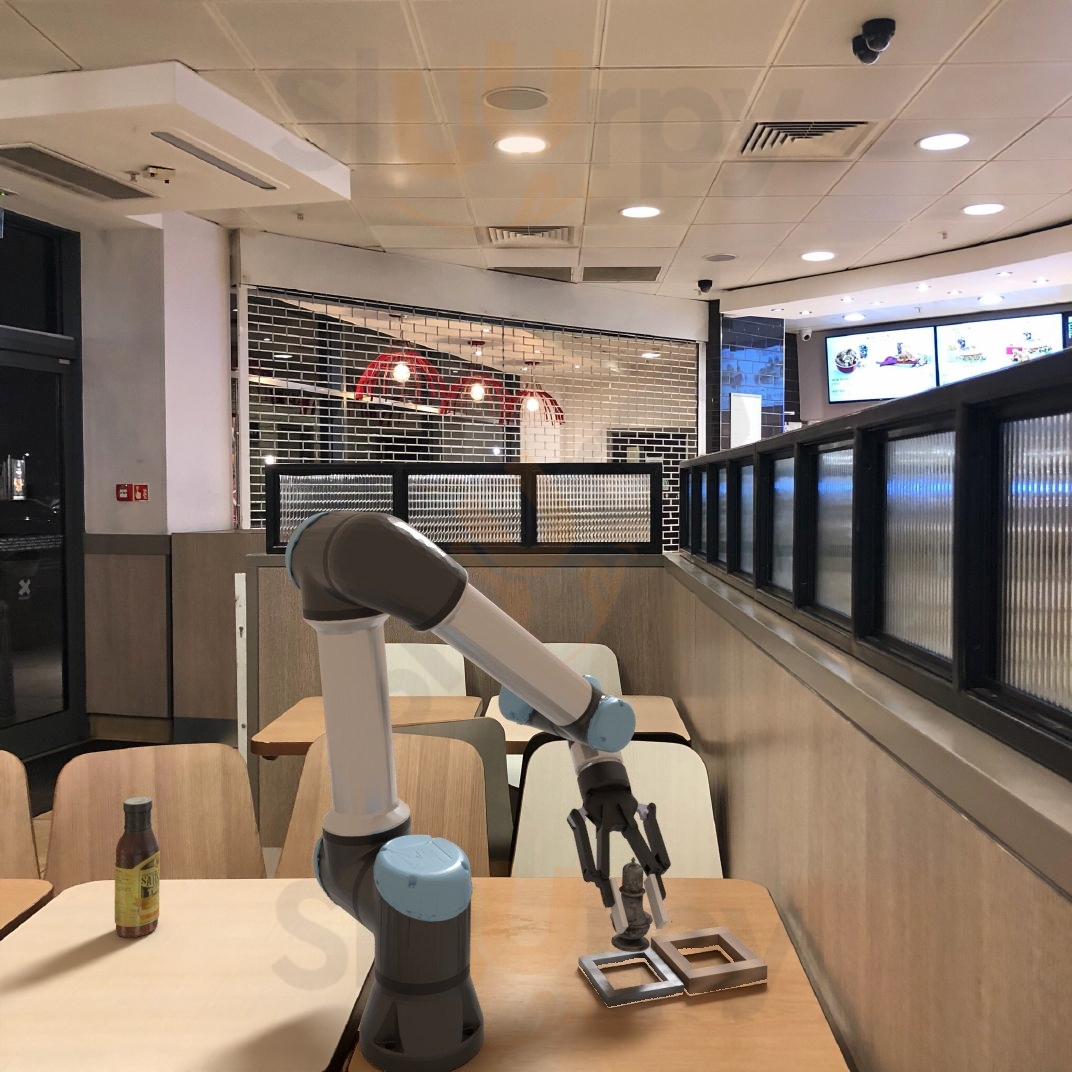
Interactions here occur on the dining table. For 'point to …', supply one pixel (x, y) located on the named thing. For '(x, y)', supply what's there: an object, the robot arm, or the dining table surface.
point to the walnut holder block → (711, 977)
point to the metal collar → (634, 993)
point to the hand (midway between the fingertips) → (642, 927)
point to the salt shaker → (633, 911)
